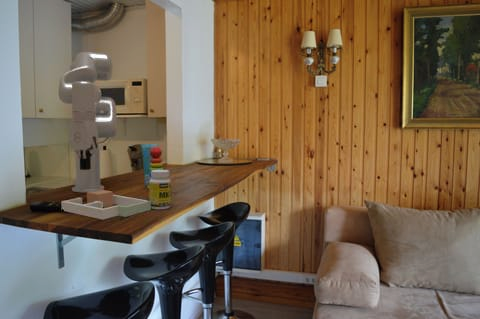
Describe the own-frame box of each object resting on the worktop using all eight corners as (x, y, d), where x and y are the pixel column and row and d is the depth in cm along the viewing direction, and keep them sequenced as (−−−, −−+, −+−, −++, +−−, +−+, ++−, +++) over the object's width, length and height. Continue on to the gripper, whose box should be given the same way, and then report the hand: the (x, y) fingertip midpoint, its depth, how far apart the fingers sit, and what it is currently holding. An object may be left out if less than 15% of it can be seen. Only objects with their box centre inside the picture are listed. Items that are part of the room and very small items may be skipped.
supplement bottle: (160, 210, 121) (159, 172, 120) (144, 207, 125) (144, 170, 123) (175, 206, 127) (175, 170, 126) (159, 204, 131) (159, 168, 130)
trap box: (60, 210, 119) (60, 201, 119) (103, 200, 134) (103, 192, 134) (109, 221, 107) (109, 211, 107) (150, 209, 122) (150, 201, 122)
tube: (157, 184, 172) (157, 143, 170) (158, 185, 168) (158, 144, 166) (141, 184, 170) (141, 143, 168) (142, 186, 165) (141, 144, 163)
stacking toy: (154, 187, 164) (154, 145, 162) (169, 188, 161) (169, 146, 159) (143, 190, 156) (143, 146, 154) (159, 191, 153) (159, 147, 152)
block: (87, 206, 126) (86, 192, 125) (101, 203, 131) (101, 189, 130) (98, 208, 123) (98, 194, 122) (113, 205, 128) (112, 191, 127)
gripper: (61, 117, 128) (62, 169, 129) (88, 116, 120) (90, 171, 122) (80, 118, 134) (81, 167, 136) (107, 117, 127) (108, 170, 128)
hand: (85, 169), depth 129 cm, fingers closed
